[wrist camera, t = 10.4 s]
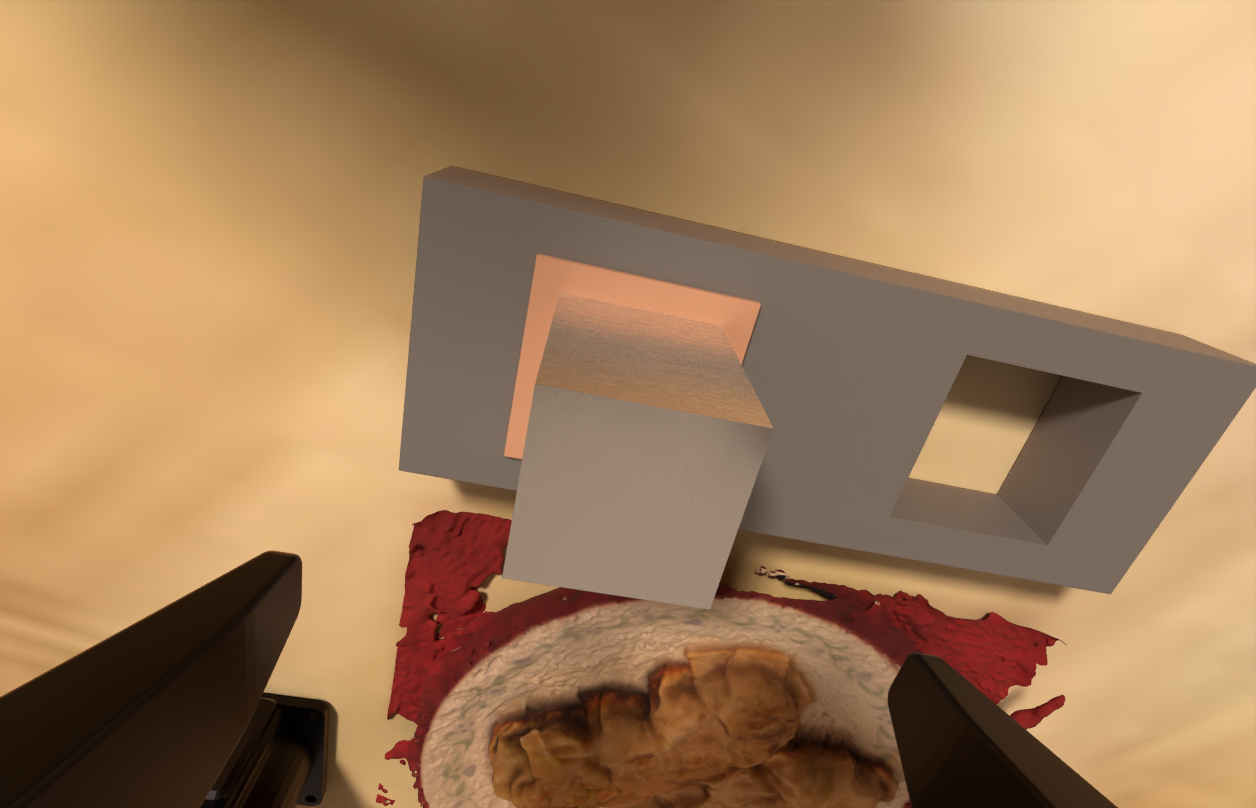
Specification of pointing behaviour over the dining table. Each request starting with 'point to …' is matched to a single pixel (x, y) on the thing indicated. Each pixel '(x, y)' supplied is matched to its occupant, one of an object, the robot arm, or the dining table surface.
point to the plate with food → (665, 688)
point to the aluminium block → (635, 456)
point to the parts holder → (817, 379)
